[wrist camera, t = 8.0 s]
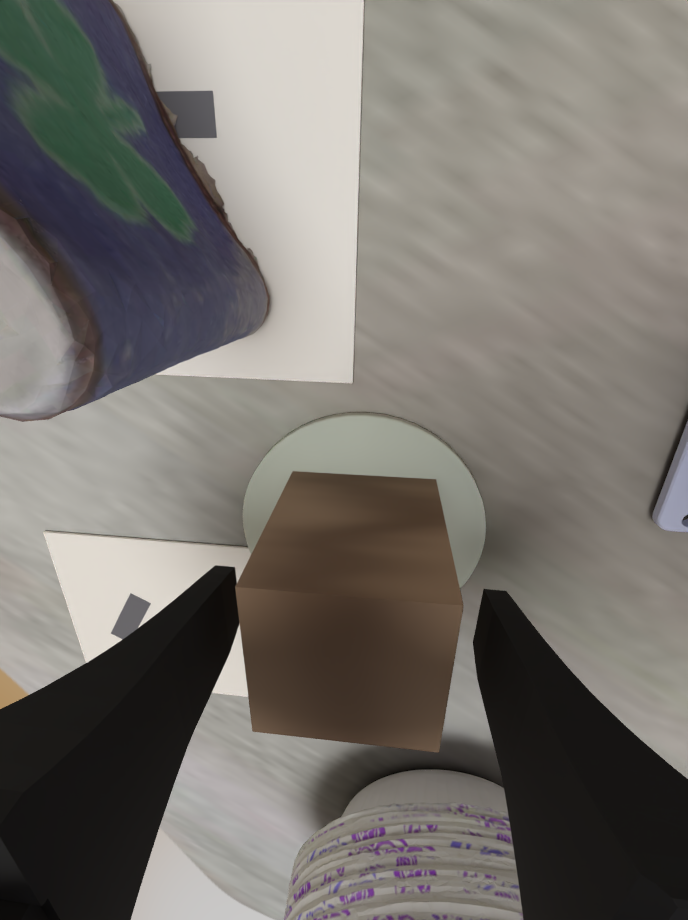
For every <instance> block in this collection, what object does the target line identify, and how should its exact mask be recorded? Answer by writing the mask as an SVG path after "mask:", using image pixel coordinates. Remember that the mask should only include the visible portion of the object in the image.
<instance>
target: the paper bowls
mask: <svg viewBox="0 0 688 920" xmlns="http://www.w3.org/2000/svg"><path fill="white" fill-rule="evenodd" d="M284 920H523V913H522V905H521V897H520V890H519V882H518V876H517V869H516V862H515V855H514V848H513V842H512V835H511V828H510V822H509V816H508V810H507V804H506V797H505V791H504V788H503V787H501V786H499V785H497V784H496V783H493V782H491V781H488V780H486V779H483V778H480V777H477V776H474V775H470V774H466V773H462V772H456V771H449V770H438V769H427V770H412V771H405V772H400V773H396V774H392V775H389V776H386V777H384V778H381V779H379V780H376V781H375V782H373V783H371V784H369V785H368V786H366V787H365V788H363V789H362V790H361V791H360V792H359V793H357V795H356V796H355V797H354V798H353V799H352V800H351V801H350V803H349V804H348V806H347V807H346V809H345V811H344V813H343V815H342V817H341V818H338V819H336V820H334V821H332V822H330V823H329V824H327V825H326V826H325V827H323V828H322V829H320V830H318V831H317V832H316V833H315V834H313V835H312V836H311V837H310V839H309V840H308V841H306V842H305V843H304V844H303V846H302V847H301V849H300V850H299V852H298V855H297V857H296V859H295V862H294V866H293V871H292V875H291V881H290V885H289V893H288V899H287V905H286V911H285V916H284Z"/></svg>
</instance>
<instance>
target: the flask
mask: <svg viewBox="0 0 688 920" xmlns="http://www.w3.org/2000/svg"><path fill="white" fill-rule="evenodd" d="M150 69H151V64H148V63H147V62H146V60H145V58H144V56H143V54H142V52H141V50H140V48H139V46H138V43H137V40H136V37H135V35H134V33H133V32H132V30H131V28H130V26H129V25H128V23H127V21H126V18H125V15H124V13H123V11H122V9H121V8H120V6H119V5H118V4H116V3H115V2H114V1H113V0H0V416H1V417H5V418H9V419H14V420H18V421H22V422H23V421H34V420H46V419H51V418H53V417H55V416H57V415H59V414H61V413H64V412H66V411H70V410H74V409H77V408H79V407H81V406H84V405H86V404H88V403H91V402H93V401H95V400H98V399H100V398H102V397H105V396H106V395H108V394H110V393H112V392H115V391H117V390H119V389H122V388H124V387H126V386H129V385H131V384H134V383H136V382H139V381H141V380H143V379H145V378H147V377H149V376H152V375H154V374H157V373H159V372H161V371H164V370H166V369H167V368H170V367H172V366H175V365H177V364H179V363H181V362H184V361H187V360H189V359H192V358H194V357H196V356H198V355H201V354H204V353H207V352H209V351H212V350H215V349H218V348H219V347H221V346H224V345H227V344H229V343H232V342H234V341H236V340H238V339H242V338H245V337H247V336H250V335H252V334H254V333H255V332H256V331H257V330H258V329H259V328H260V327H261V326H262V325H263V323H264V321H265V319H266V317H267V316H268V314H269V304H270V296H269V293H268V290H267V287H266V285H265V281H264V277H263V275H262V273H261V271H260V269H259V266H258V262H257V257H255V256H254V255H253V251H252V250H251V249H250V248H247V249H246V248H245V247H244V246H243V245H242V243H241V242H240V241H239V240H238V238H237V235H236V233H235V231H234V230H233V227H232V225H231V223H230V222H228V215H227V213H225V212H224V208H223V205H224V202H223V200H222V198H221V196H220V194H219V193H218V192H217V189H216V186H215V179H213V178H212V177H211V176H210V175H209V174H208V172H207V170H206V167H205V165H204V163H202V162H201V161H200V160H198V156H196V157H193V154H192V152H191V151H189V150H188V149H187V148H186V147H185V146H184V145H183V144H181V141H180V138H178V135H177V132H176V129H175V127H174V126H175V123H176V120H177V117H178V115H175V114H173V113H172V112H171V111H170V109H169V108H167V107H166V105H165V104H164V103H163V102H162V101H161V100H160V98H159V96H158V94H157V93H156V91H155V89H154V87H153V82H152V77H151V73H150Z"/></svg>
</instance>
